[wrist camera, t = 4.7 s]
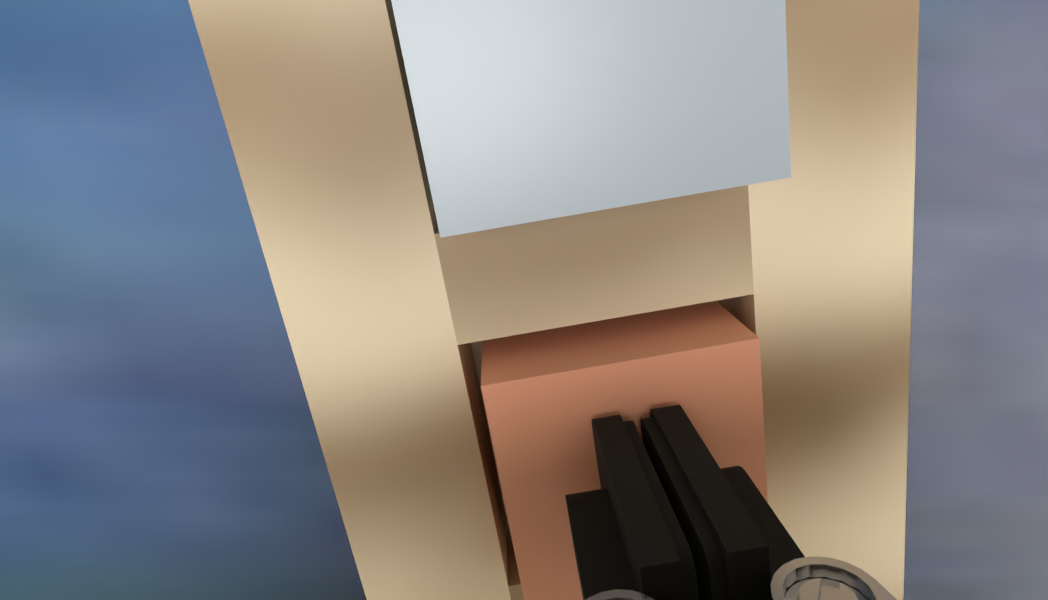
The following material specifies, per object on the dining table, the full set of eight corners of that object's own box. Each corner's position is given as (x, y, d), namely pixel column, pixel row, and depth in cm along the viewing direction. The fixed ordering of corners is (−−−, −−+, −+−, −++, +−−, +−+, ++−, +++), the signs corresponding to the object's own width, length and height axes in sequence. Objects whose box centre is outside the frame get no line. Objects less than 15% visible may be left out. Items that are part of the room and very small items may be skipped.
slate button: (708, 158, 12) (790, 177, 9) (453, 201, 12) (440, 238, 9) (686, -139, 11) (777, -252, 7) (397, -89, 11) (354, -179, 7)
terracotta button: (712, 470, 16) (771, 567, 13) (518, 503, 16) (525, 609, 13) (697, 284, 14) (759, 337, 11) (483, 321, 14) (481, 385, 11)
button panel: (829, 687, 20) (897, 805, 16) (457, 751, 20) (451, 882, 16) (812, -205, 13) (927, -317, 9) (228, -105, 13) (134, -181, 9)
